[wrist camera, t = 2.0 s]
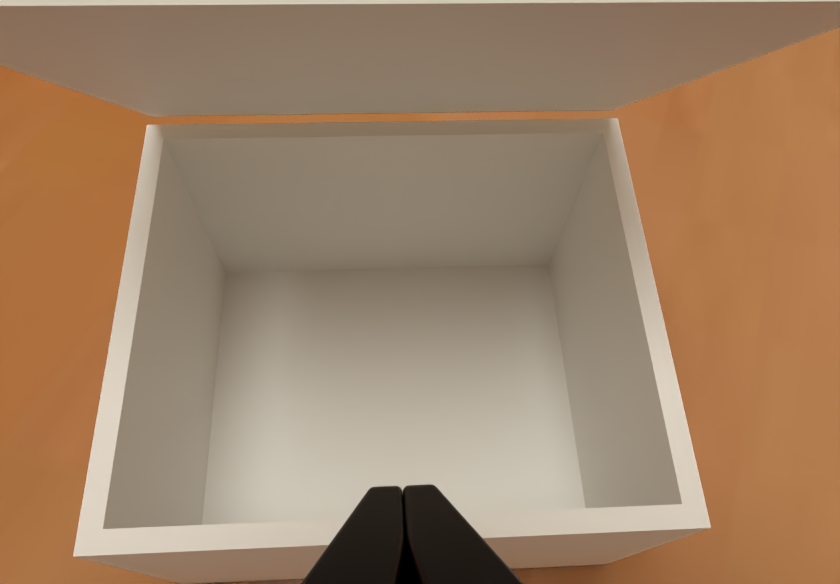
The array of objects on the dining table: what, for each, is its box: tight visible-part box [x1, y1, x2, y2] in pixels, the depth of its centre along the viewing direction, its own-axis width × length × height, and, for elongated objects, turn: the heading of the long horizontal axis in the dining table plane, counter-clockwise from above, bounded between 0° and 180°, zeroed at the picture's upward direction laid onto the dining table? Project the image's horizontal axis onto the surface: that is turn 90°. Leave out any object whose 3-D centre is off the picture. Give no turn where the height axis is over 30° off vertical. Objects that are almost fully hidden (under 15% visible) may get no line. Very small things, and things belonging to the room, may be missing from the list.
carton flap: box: [0, 0, 840, 117], centre depth 13 cm, size 11×13×1 cm
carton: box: [73, 118, 711, 584], centre depth 20 cm, size 11×13×8 cm
